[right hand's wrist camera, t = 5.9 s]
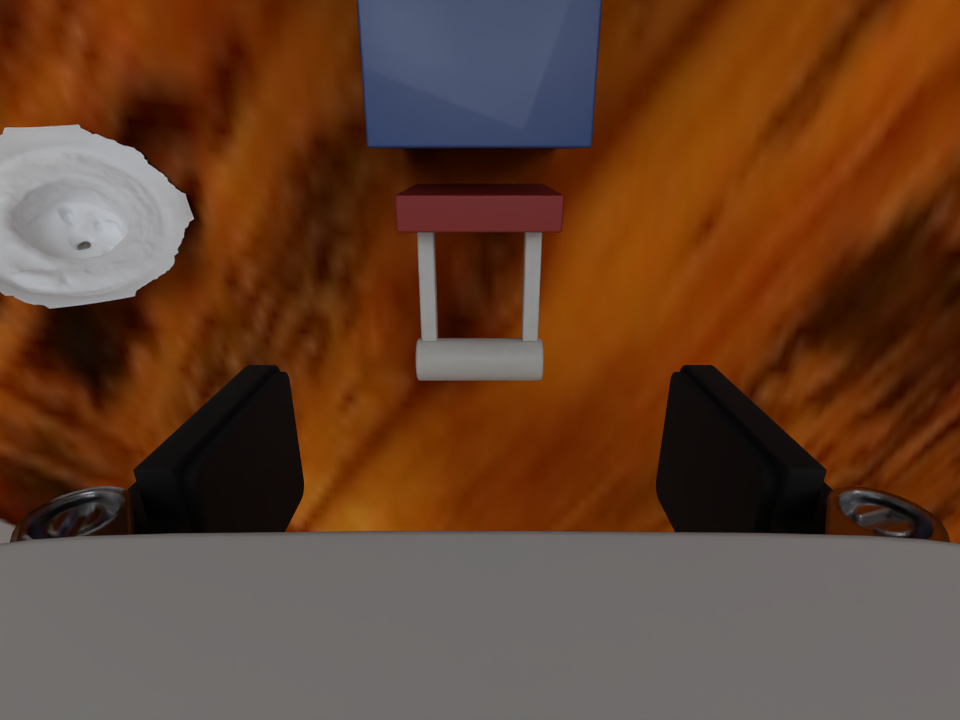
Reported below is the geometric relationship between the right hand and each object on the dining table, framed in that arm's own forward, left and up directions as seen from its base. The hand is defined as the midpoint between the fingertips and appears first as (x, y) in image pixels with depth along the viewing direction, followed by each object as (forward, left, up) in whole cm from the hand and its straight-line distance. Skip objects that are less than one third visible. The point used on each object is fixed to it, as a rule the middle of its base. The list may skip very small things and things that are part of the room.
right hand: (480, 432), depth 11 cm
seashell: (+2, +17, -15) cm, 23 cm away
